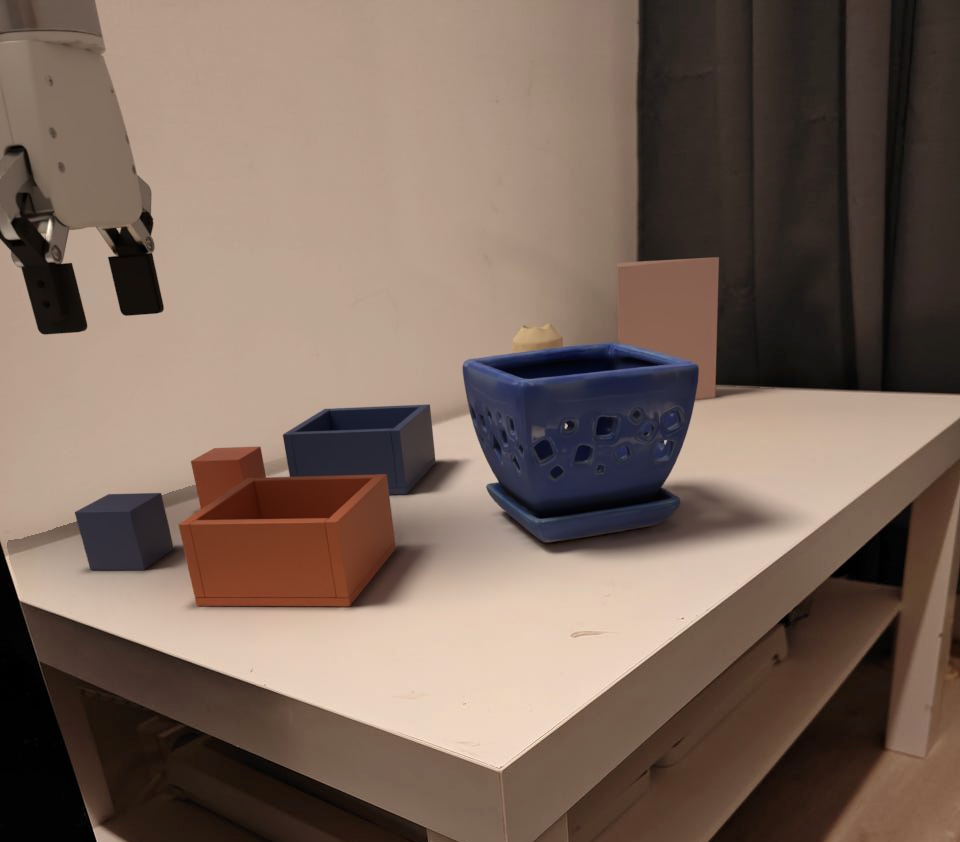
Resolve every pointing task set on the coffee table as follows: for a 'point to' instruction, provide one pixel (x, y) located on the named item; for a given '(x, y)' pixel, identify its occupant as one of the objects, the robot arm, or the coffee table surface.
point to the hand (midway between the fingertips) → (106, 322)
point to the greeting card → (672, 311)
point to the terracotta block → (225, 470)
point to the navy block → (125, 531)
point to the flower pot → (582, 435)
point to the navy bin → (364, 444)
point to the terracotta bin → (290, 541)
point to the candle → (536, 339)
